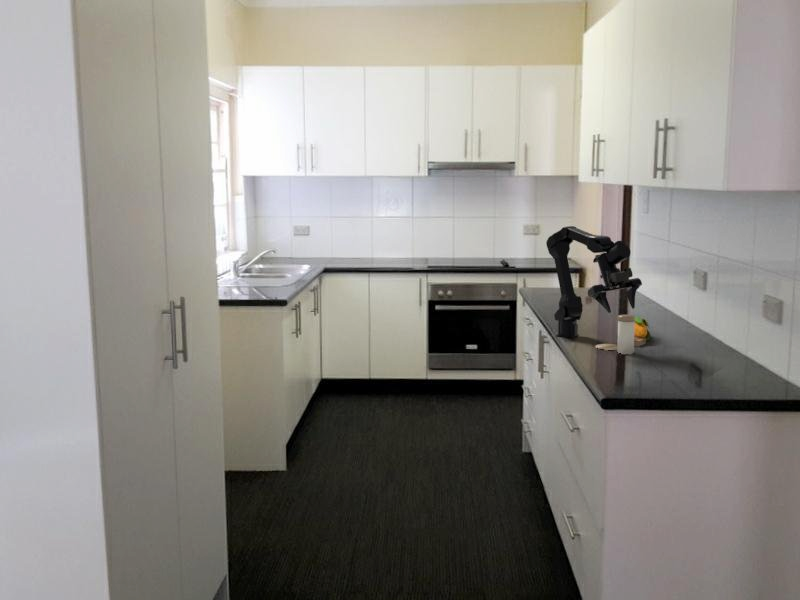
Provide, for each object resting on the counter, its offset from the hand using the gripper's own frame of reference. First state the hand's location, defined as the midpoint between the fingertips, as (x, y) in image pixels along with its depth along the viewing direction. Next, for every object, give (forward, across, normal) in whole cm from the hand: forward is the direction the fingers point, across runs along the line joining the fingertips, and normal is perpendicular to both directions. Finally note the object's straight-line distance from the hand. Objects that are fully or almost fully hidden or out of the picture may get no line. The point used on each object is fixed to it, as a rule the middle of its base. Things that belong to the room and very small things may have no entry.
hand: (621, 310), depth 290 cm
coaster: (+10, -3, +12) cm, 16 cm away
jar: (+14, -2, +4) cm, 15 cm away
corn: (+7, +15, +22) cm, 27 cm away
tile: (+10, +9, +14) cm, 20 cm away
